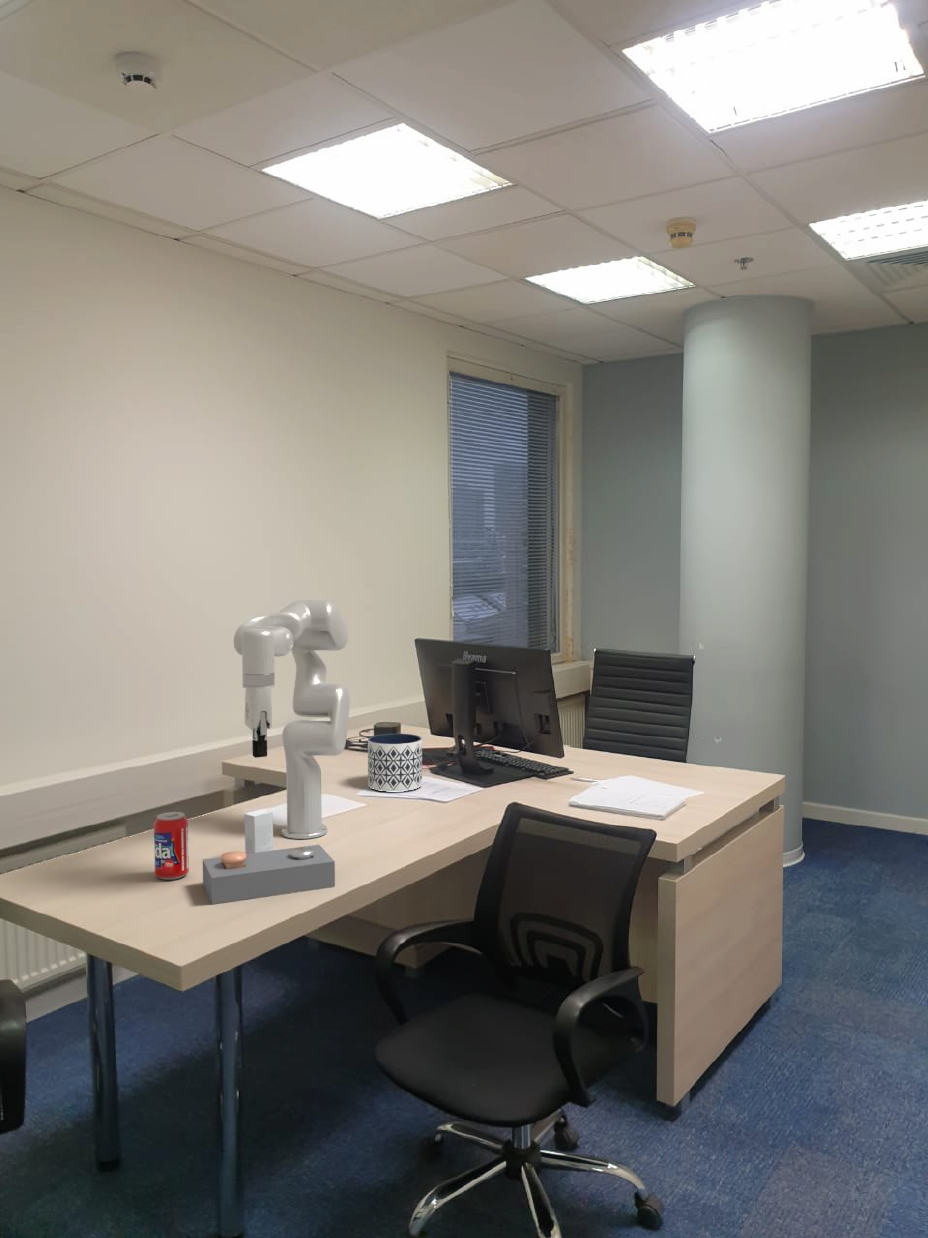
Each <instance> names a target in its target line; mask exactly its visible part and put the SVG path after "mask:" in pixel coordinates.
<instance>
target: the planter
mask: <svg viewBox="0 0 928 1238" xmlns="http://www.w3.org/2000/svg"><path fill="white" fill-rule="evenodd" d="M421 785H422V786H423V738H422V736H419V735H417V734H410V733H385V734H384V733H383V734H377V735H373V736H370V737H368V738H367V786H368V788H369V787H371V788H374V789H377V790H382V791H402V790H410V789H414V788H417V787H419V786H421ZM422 786H421V787H422ZM371 788H370V789H371Z"/></svg>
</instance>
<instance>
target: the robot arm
mask: <svg viewBox="0 0 928 1238" xmlns="http://www.w3.org/2000/svg"><path fill="white" fill-rule="evenodd" d="M348 632H349V631H348V628H347V626H346V623H345V620H344V619H343V617H342V615H341V613H340V611H339V610H338V608H337V607H336V605H335V604H334V603H332V602H331V601H329V600H295V601H293V602H291V603H289V604H288V605H287V606H285V607H284V608H282V609H281V610H280V611H277V612H274V613H270V614H266V615H263V616H258V617H255V618H251V619H249V620H246V621H245V622H243V623H242V624H241V625H239V626H238V628H237V629H236V631H235V632H234V636H233V647H234V648H233V649H234V650H235V652H236V653H237V654H238V655H240V656H241V659H242V660H241V661H242V662H241V664H242V672H241V673H242V688H244V689H245V693H244V695H245V696H244V724H245V726H247V728H248V729H250V730H251V732H252V735H251V736H252V741H251V744H252V747H251V748H252V749H251V750H252V757H253V758H256V759H257V758H264V757H265V758H267V756H268V730H270V729H271V727H272V724H273V711H272V710H273V709H272V707H273V705H272V690H271V689H272V688H274V687H276V685H275V683H276V681H275V678H276V677H275V676H276V675H275V658H276V657H279V658H280V657H284V656H287V655H288V654H289V653H290V652H291V653H292V656H293V658H294V663H295V668H296V669H295V671H296V672H295V679H294V680H295V681H294V688H293V695H292V709H293V713H294V714H295V715H297V716H298V717H304V718H324V719H325V718H327V719H330V720H306V719H305V720H303V719H301V720H293V721H290V722H289V723H287V724H285V726H284V727H283V730H282V736H281V737H282V738H281V739H282V744H283V750H284V757H285V767H286V768H285V770H286V774H285V775H286V825H285V826H284V827H283V828H282V829H281V835H282V836H283V837H285V838H288V839H292V840H293V839H294V840H306V839H314V838H319V837H321V836H324V835H326V834H327V833H328V827H327V825H325V824H323V823H322V821H323V820H322V814H323V813H322V770H321V767H320V764H319V762H318V761H317V759H316V758H315V756H327V757H328V756H329V757H331V756H332V757H333V756H334V757H335V756H340V755H342V753H343V752H344V750H345V747H346V742H347V737H348V736H347V735H348V734H347V733H348V725H349V724H348V723H349V715H350V702H351V701H350V694H349V691H348V688H347V687H346V686H344V685H342V684H339V683H326V680H327V678H326V677H327V666H326V664H325V663H324V661H323V660H322V658H321V657H320V656H319V654H317V652H316V651H327V652H330V651H340V650H341V651H342V650H343V649H344V648H345V647H346V645H347V643H348V641H349V640H348V639H349V633H348Z"/></svg>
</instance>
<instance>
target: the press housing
mask: <svg viewBox="0 0 928 1238" xmlns="http://www.w3.org/2000/svg"><path fill="white" fill-rule="evenodd" d="M299 847H300V846H296V848H299ZM303 847H309V848H312V849H314V856H313V857H312V858H308V859H299V860H294V859H293V858H291V857H290V850H292V849H294V848H295V847H290V848H289V847H288V848H283V849H274V850H273V851H265V852H257V853H249V854H246V861H244V867H239V868H232V869H225V868H224V866H223V863H222V862H221V856H220V857H211V858H204V859H202V885H203V887H204V889H205V892H206V894H207V896H208V898H209V900H210V903H211V905H213V906H214V905H219V904H226V903H232V902H238V901H239V900H240V901H246V900H253V898H254V899H260V898H267V897H272V896H271V895H274V896H279V895H278V894H281V895H286V894H285V893H288V894H292V893H291V892H294V893H299V892H298V891H301V892H307V891H306V890H308V891H313V890H312V889H315V890H319V889H318V888H322V889H326V888H325V887H329V888H334V886H335V887H336V874H335V873H336V869H335V868H336V867H335V866H336V863H335V862H336V861H335V860H334V858H332V856H331V855H329V853H328V852H327V851H326V850H325V849H324V848H323V847H322V846H321V845H320V844H315V845H313V844H312V845H305V846H303ZM266 896H267V897H266ZM259 897H260V898H259Z"/></svg>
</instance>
